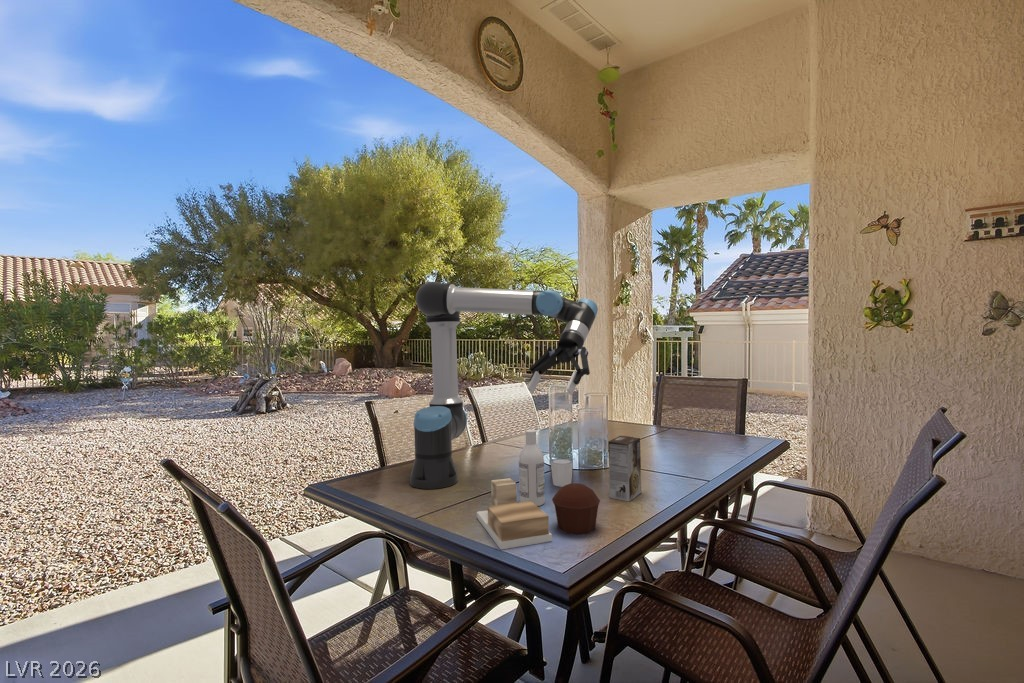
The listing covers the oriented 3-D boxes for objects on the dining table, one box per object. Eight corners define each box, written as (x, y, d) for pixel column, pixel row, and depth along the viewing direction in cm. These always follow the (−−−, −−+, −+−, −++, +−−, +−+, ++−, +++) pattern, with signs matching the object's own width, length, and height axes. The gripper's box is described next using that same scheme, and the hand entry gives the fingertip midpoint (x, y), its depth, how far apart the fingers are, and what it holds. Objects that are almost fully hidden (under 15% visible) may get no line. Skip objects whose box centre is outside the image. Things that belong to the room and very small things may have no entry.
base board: (477, 517, 122) (476, 511, 122) (521, 511, 126) (521, 505, 126) (500, 549, 104) (500, 542, 104) (551, 541, 107) (551, 534, 107)
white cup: (572, 480, 153) (572, 458, 153) (573, 487, 146) (573, 464, 146) (551, 480, 154) (550, 458, 154) (550, 487, 147) (550, 464, 147)
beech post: (491, 511, 122) (491, 480, 122) (510, 509, 124) (509, 478, 124) (497, 518, 117) (496, 485, 117) (516, 515, 119) (516, 483, 119)
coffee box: (621, 489, 143) (620, 435, 143) (642, 493, 139) (641, 437, 139) (608, 498, 136) (607, 440, 136) (630, 502, 132) (629, 443, 132)
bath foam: (544, 498, 136) (542, 428, 136) (545, 507, 129) (544, 432, 129) (519, 499, 136) (518, 428, 136) (519, 507, 129) (518, 433, 129)
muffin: (561, 516, 123) (560, 476, 123) (604, 521, 118) (603, 480, 118) (546, 533, 112) (545, 490, 112) (593, 540, 107) (592, 495, 107)
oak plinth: (487, 523, 115) (487, 506, 115) (531, 517, 118) (530, 500, 118) (501, 541, 104) (501, 523, 104) (548, 533, 108) (548, 516, 108)
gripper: (613, 345, 147) (591, 400, 135) (545, 347, 162) (521, 397, 151) (604, 328, 143) (581, 383, 131) (535, 332, 158) (509, 382, 146)
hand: (549, 391), depth 141 cm, fingers open, 13 cm apart
